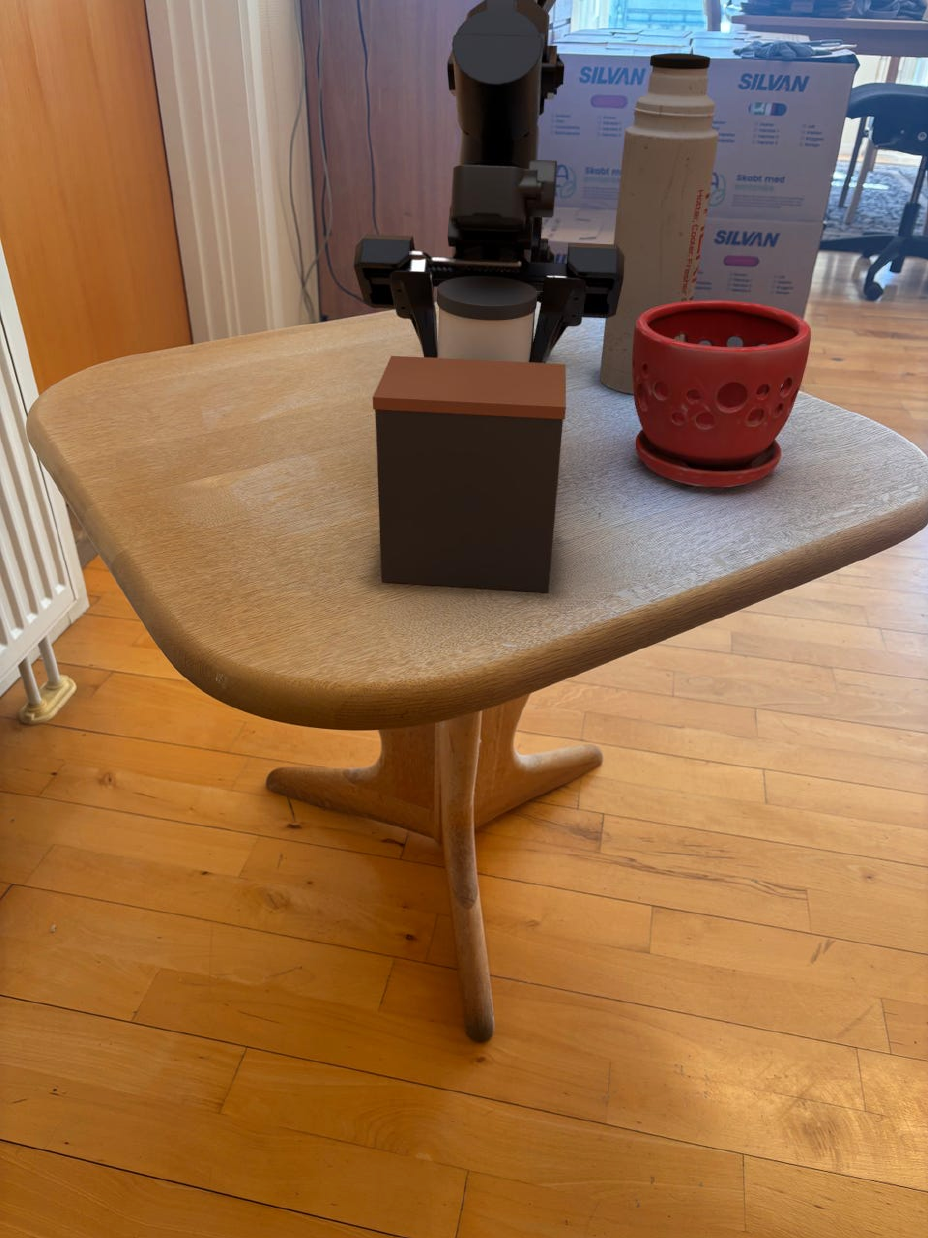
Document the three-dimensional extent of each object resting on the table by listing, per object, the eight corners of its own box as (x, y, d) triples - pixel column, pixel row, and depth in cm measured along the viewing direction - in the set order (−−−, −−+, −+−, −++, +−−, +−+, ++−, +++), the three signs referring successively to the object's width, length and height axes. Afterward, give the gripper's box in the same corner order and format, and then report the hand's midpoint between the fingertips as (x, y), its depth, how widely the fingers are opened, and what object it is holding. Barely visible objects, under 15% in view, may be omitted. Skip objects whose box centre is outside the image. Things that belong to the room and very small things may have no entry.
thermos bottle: (692, 377, 95) (744, 54, 79) (661, 401, 89) (711, 58, 73) (619, 361, 98) (655, 48, 82) (586, 384, 92) (617, 53, 76)
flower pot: (725, 425, 84) (750, 289, 78) (813, 489, 74) (851, 339, 67) (593, 442, 81) (607, 301, 74) (666, 510, 71) (691, 354, 64)
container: (436, 443, 74) (440, 273, 66) (523, 448, 73) (537, 278, 66) (429, 482, 68) (433, 301, 60) (522, 488, 68) (538, 307, 60)
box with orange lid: (414, 465, 76) (413, 306, 69) (552, 472, 76) (565, 313, 69) (379, 583, 62) (372, 396, 54) (549, 593, 61) (566, 406, 54)
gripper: (351, 104, 61) (327, 326, 58) (639, 113, 60) (629, 340, 57) (375, 208, 72) (356, 399, 69) (619, 217, 71) (609, 412, 68)
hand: (480, 387), depth 66 cm, fingers closed on container, 6 cm apart
